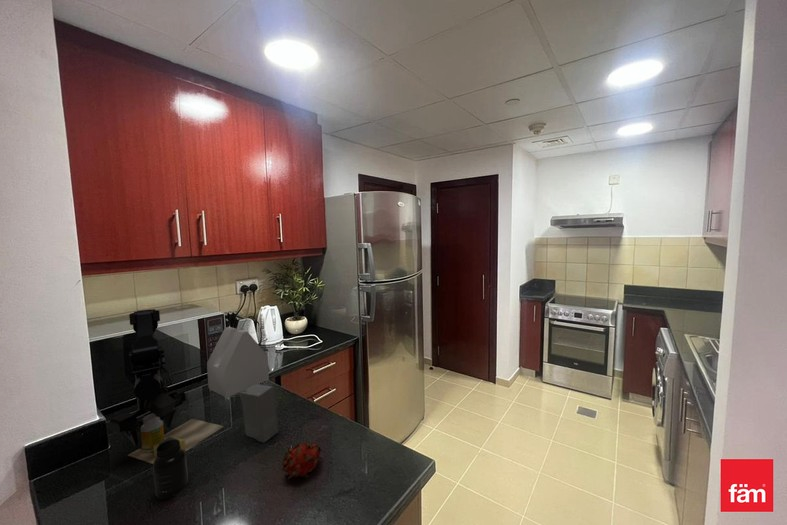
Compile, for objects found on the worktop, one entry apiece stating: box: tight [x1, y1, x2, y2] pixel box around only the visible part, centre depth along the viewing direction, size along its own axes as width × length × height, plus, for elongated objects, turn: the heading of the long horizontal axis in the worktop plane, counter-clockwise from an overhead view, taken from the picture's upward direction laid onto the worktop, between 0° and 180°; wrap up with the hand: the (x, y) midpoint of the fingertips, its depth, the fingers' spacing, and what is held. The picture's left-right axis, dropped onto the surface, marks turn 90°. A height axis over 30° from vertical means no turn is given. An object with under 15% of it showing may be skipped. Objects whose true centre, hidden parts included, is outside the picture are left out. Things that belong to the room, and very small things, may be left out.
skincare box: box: [239, 384, 280, 444], centre depth 100 cm, size 8×7×16 cm
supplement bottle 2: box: [152, 439, 189, 501], centre depth 79 cm, size 7×7×12 cm
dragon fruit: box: [281, 441, 322, 479], centre depth 84 cm, size 8×8×12 cm
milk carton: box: [206, 326, 270, 399], centre depth 139 cm, size 19×15×25 cm
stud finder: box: [153, 436, 185, 457], centre depth 92 cm, size 6×5×4 cm
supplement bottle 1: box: [140, 413, 165, 452], centre depth 95 cm, size 5×5×10 cm
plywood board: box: [127, 418, 224, 465], centre depth 98 cm, size 21×20×1 cm
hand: (152, 436), depth 95 cm, fingers open, 9 cm apart
